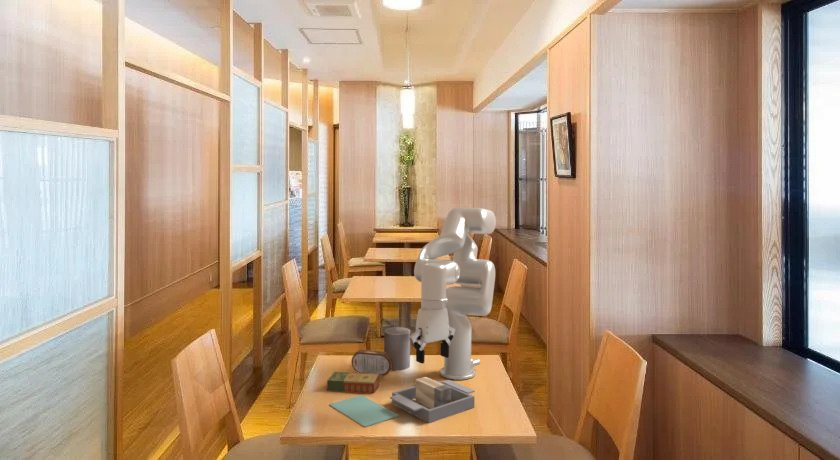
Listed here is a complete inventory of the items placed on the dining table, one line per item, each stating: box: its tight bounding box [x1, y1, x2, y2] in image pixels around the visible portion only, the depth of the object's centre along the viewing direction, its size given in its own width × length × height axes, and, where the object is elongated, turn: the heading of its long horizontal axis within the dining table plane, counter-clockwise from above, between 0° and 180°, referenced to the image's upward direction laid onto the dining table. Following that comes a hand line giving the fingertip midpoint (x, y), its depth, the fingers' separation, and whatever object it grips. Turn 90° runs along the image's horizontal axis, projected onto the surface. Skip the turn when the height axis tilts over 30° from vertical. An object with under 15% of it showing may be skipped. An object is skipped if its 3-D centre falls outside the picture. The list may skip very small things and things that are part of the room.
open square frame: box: [389, 379, 475, 424], centre depth 176 cm, size 24×18×4 cm
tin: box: [350, 349, 393, 377], centre depth 203 cm, size 15×3×8 cm, turn 76°
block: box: [415, 376, 452, 409], centre depth 176 cm, size 4×12×7 cm, turn 39°
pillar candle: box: [383, 326, 411, 371], centre depth 211 cm, size 10×10×15 cm
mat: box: [328, 394, 400, 428], centre depth 172 cm, size 12×20×1 cm, turn 39°
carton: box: [326, 371, 381, 394], centre depth 191 cm, size 8×16×4 cm, turn 81°
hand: (432, 359), depth 174 cm, fingers open, 9 cm apart
